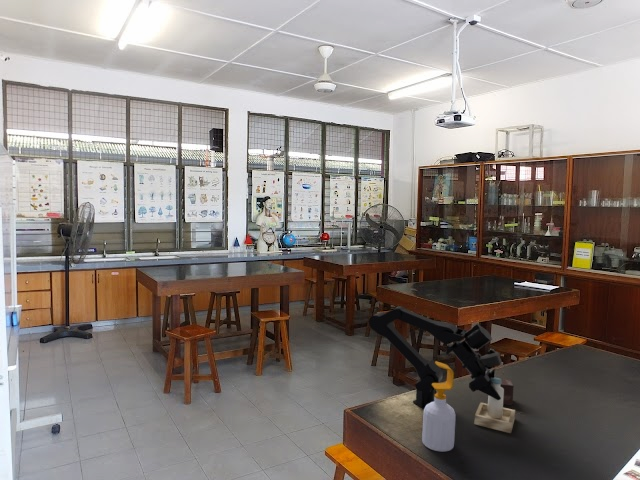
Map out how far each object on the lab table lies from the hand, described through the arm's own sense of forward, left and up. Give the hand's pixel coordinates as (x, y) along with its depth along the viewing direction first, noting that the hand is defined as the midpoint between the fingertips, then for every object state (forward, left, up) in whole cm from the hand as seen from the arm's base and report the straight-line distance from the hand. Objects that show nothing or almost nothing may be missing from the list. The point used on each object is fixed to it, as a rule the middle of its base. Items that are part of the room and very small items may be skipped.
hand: (500, 396), depth 146 cm
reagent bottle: (-1, +1, -6) cm, 7 cm away
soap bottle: (-28, -2, -9) cm, 29 cm away
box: (+14, +11, -9) cm, 20 cm away
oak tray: (-1, +1, -9) cm, 9 cm away
